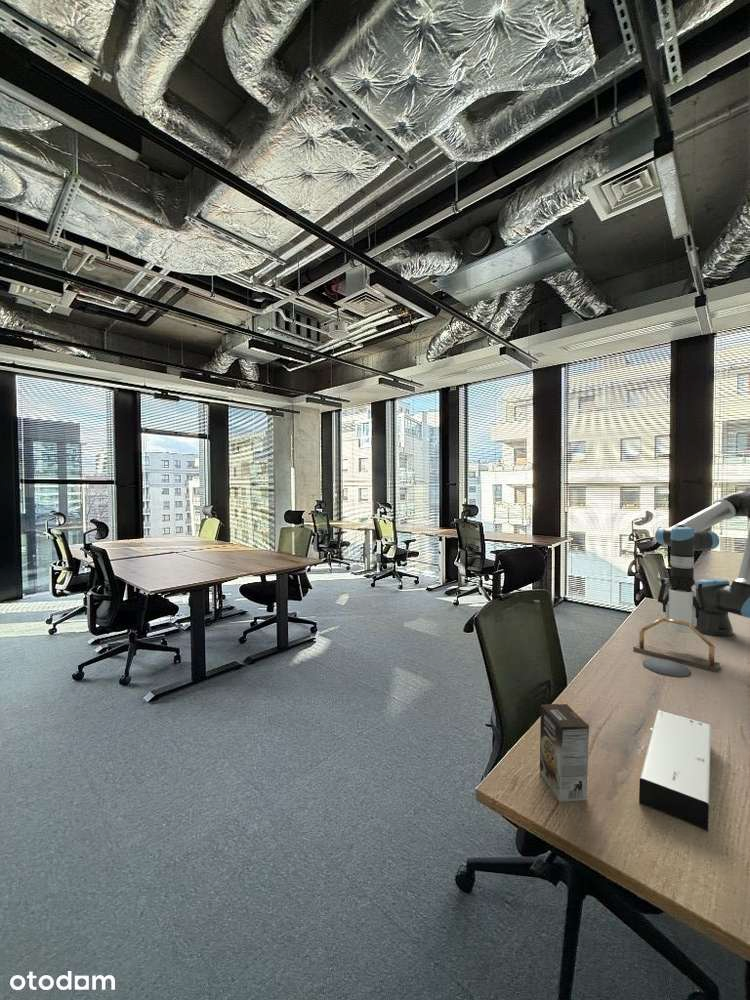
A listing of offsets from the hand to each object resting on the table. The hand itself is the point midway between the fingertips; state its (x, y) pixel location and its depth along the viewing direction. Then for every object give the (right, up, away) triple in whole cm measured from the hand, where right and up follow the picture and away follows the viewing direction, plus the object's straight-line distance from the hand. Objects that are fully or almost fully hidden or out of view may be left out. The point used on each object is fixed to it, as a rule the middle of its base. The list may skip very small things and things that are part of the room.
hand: (680, 623), depth 169 cm
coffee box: (-81, -14, -76) cm, 112 cm away
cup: (0, -3, 0) cm, 3 cm away
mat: (-17, -11, -17) cm, 27 cm away
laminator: (-53, -14, -72) cm, 90 cm away
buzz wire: (-9, -11, -9) cm, 16 cm away
